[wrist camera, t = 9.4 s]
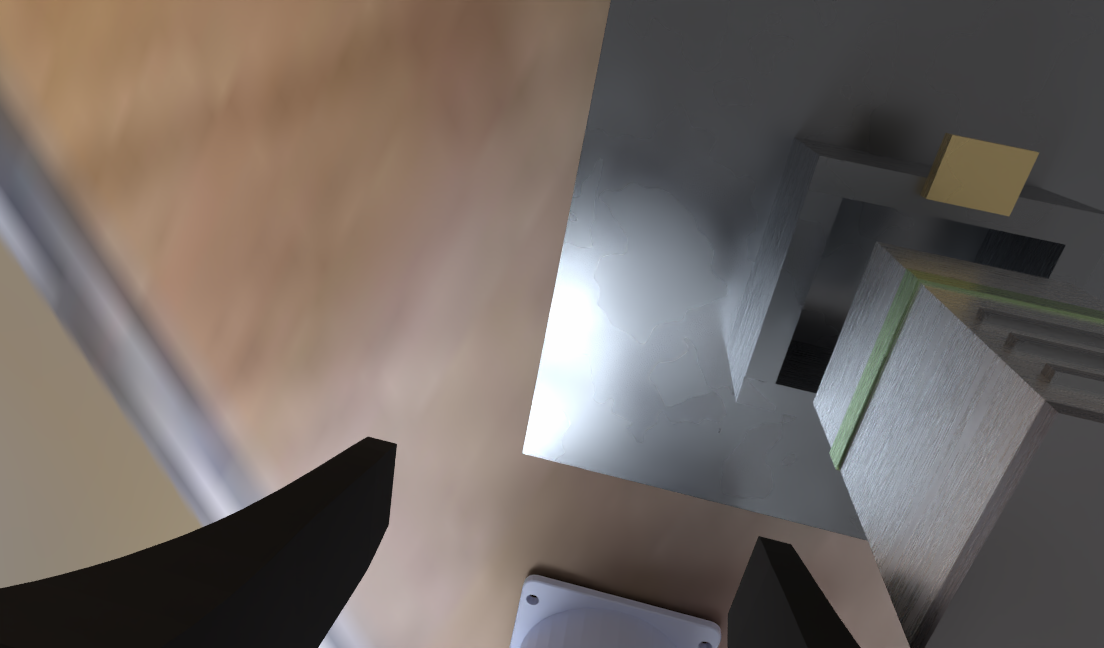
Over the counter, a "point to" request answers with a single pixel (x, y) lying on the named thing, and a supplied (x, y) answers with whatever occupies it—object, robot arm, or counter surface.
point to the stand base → (797, 217)
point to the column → (974, 448)
